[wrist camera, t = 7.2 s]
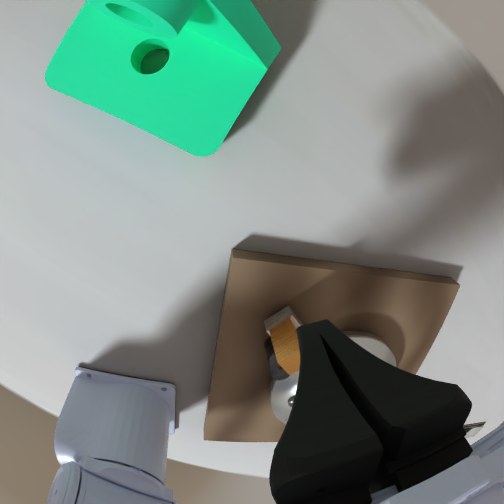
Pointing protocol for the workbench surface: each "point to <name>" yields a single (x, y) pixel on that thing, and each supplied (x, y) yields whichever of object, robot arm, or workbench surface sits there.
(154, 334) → the workbench surface
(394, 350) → the fixture board
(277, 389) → the flange plate
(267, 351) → the dowel pin
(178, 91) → the camera mount
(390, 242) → the workbench surface
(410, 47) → the workbench surface
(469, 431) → the computer memory module
